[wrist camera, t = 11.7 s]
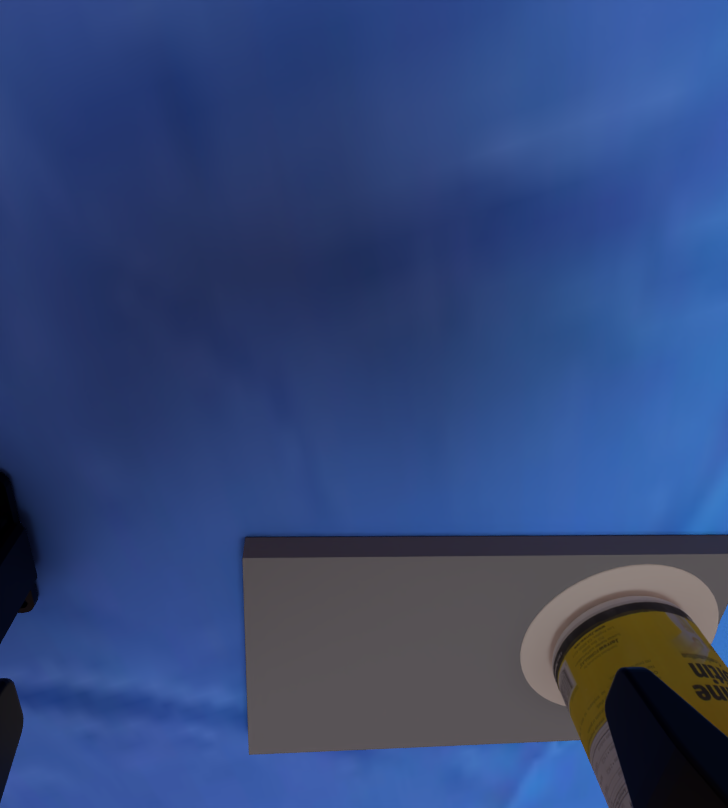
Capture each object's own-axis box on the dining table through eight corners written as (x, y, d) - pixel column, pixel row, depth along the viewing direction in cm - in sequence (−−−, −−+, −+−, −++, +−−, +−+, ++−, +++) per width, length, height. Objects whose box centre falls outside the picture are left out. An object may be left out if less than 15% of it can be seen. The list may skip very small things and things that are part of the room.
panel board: (250, 730, 29) (248, 756, 28) (245, 537, 24) (242, 560, 23) (654, 714, 31) (667, 738, 30) (732, 535, 26) (752, 555, 25)
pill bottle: (698, 660, 28) (930, 992, 17) (566, 707, 28) (714, 1053, 18) (674, 566, 25) (936, 898, 15) (528, 621, 26) (678, 974, 15)
